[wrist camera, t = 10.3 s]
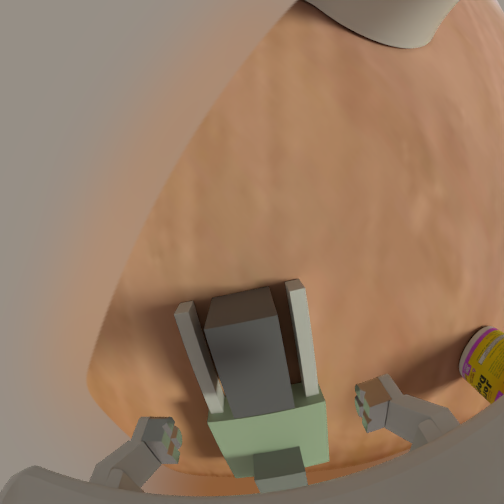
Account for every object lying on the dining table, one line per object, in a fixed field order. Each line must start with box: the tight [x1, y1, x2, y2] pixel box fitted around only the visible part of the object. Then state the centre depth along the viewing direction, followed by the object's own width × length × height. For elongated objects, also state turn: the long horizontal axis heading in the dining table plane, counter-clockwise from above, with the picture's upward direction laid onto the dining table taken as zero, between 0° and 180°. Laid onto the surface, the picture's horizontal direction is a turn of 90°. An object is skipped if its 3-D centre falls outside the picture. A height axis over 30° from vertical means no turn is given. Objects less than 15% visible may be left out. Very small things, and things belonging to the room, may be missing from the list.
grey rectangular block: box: [204, 286, 295, 419], centre depth 18 cm, size 7×4×5 cm, turn 12°
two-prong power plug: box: [174, 279, 329, 493], centre depth 18 cm, size 18×9×6 cm, turn 12°
